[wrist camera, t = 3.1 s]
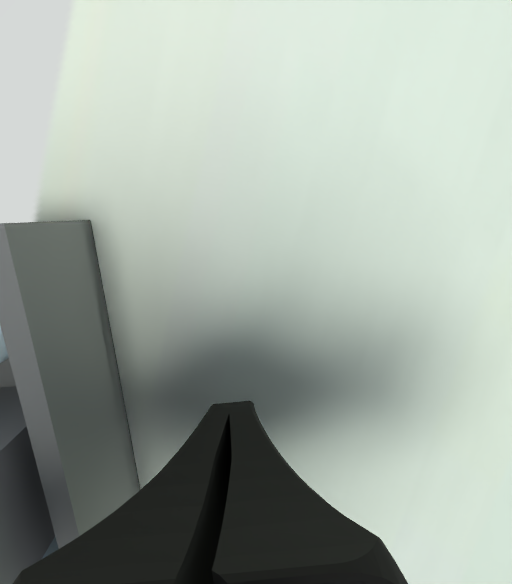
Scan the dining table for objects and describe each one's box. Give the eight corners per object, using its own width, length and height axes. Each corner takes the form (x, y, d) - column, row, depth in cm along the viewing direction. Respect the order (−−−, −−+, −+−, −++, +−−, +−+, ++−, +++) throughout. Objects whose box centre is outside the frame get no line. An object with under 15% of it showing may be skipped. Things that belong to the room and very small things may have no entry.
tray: (32, 578, 14) (-90, 785, 9) (-68, 233, 11) (-342, 250, 6) (154, 566, 14) (103, 766, 9) (90, 220, 11) (-45, 224, 6)
